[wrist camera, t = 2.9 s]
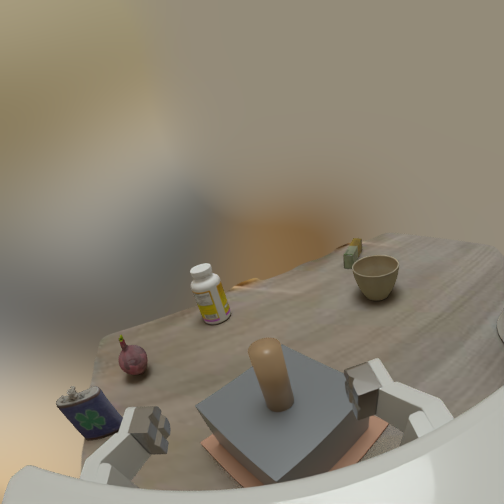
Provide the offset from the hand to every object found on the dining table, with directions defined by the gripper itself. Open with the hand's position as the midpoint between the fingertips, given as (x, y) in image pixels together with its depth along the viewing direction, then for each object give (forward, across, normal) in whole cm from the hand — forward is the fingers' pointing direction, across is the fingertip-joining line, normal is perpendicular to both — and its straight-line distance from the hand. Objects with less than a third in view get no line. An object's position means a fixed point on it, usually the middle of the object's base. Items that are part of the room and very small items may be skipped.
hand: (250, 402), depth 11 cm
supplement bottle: (+48, -11, -25) cm, 56 cm away
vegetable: (+32, -27, -25) cm, 49 cm away
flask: (+17, -30, -25) cm, 43 cm away
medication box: (+60, +27, -25) cm, 71 cm away
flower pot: (+40, +24, -25) cm, 53 cm away
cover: (+12, 0, -24) cm, 27 cm away
